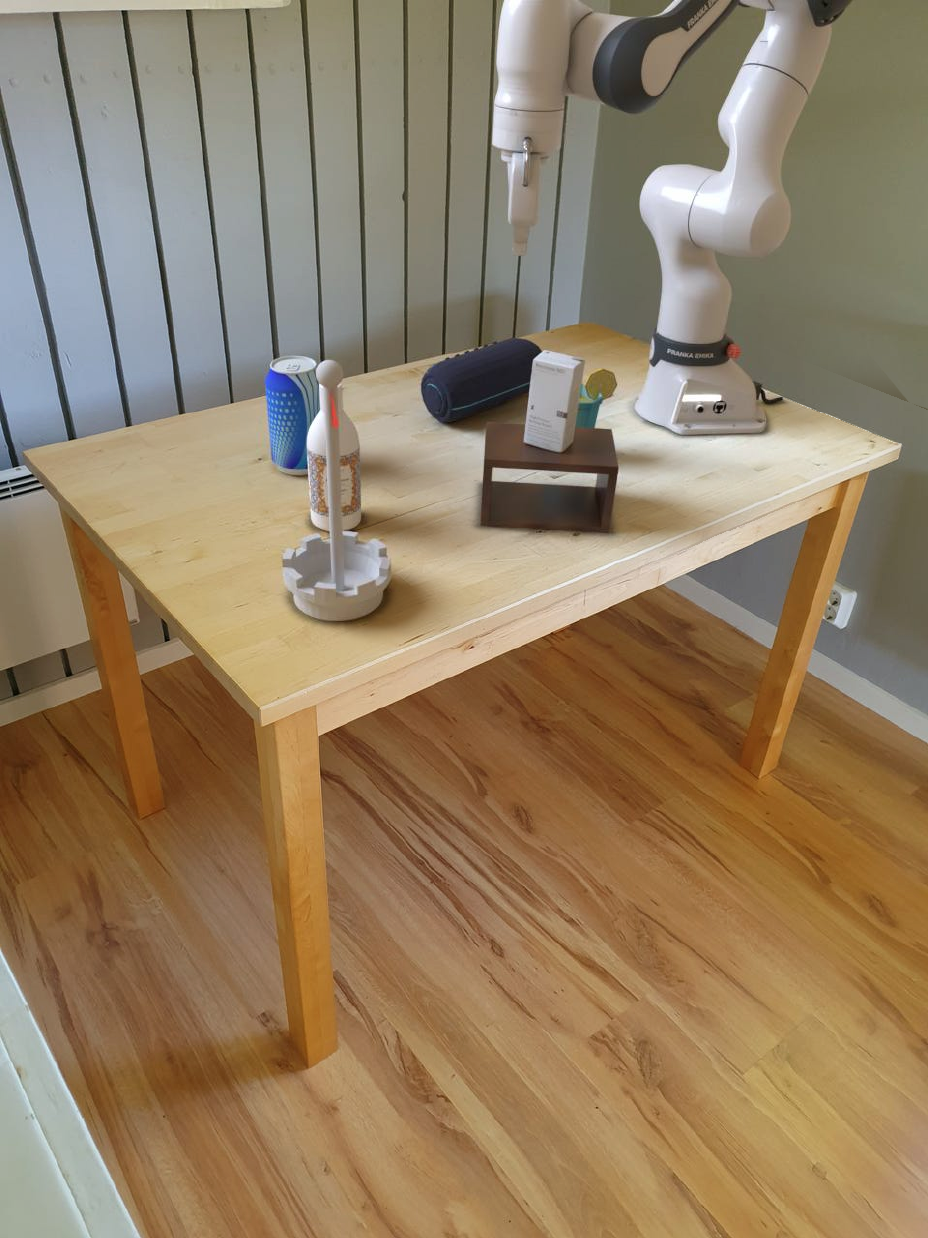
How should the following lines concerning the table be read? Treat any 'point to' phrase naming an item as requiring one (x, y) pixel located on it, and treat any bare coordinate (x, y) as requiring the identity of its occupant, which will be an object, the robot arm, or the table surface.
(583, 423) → the cup
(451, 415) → the portable speaker
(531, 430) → the cosmetic box
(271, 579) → the table surface
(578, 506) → the shelf
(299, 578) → the flag stand
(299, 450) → the beer can
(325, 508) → the bath foam
